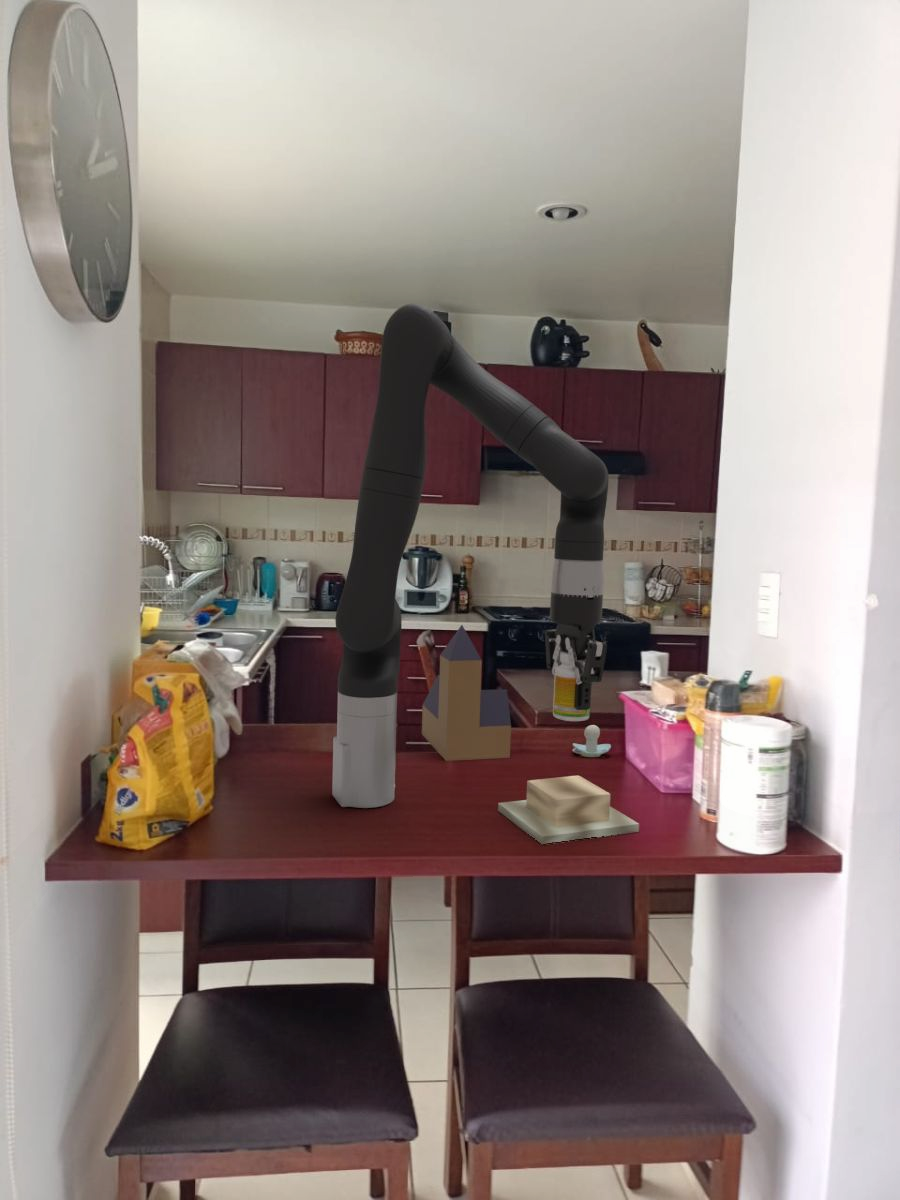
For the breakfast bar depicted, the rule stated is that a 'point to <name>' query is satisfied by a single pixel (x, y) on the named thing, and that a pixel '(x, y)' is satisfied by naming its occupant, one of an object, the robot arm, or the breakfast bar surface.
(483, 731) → the toy building blocks
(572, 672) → the supplement bottle
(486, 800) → the breakfast bar surface
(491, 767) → the breakfast bar surface
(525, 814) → the pedestal base
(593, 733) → the pacifier
